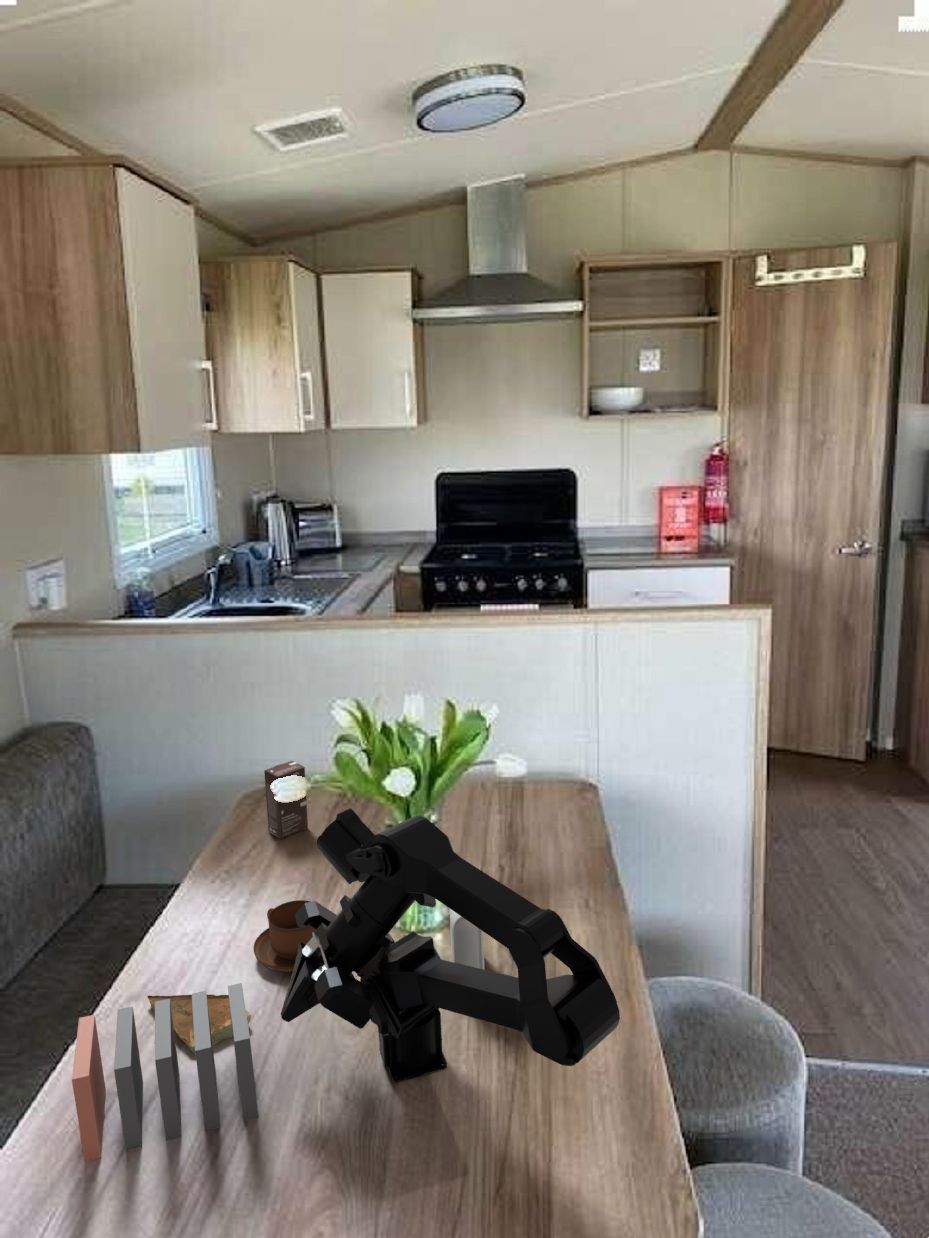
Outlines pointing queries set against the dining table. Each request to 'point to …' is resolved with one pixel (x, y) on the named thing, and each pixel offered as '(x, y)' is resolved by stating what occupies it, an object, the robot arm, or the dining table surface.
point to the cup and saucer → (282, 937)
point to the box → (285, 815)
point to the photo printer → (466, 942)
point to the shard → (184, 1017)
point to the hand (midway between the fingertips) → (284, 1018)
